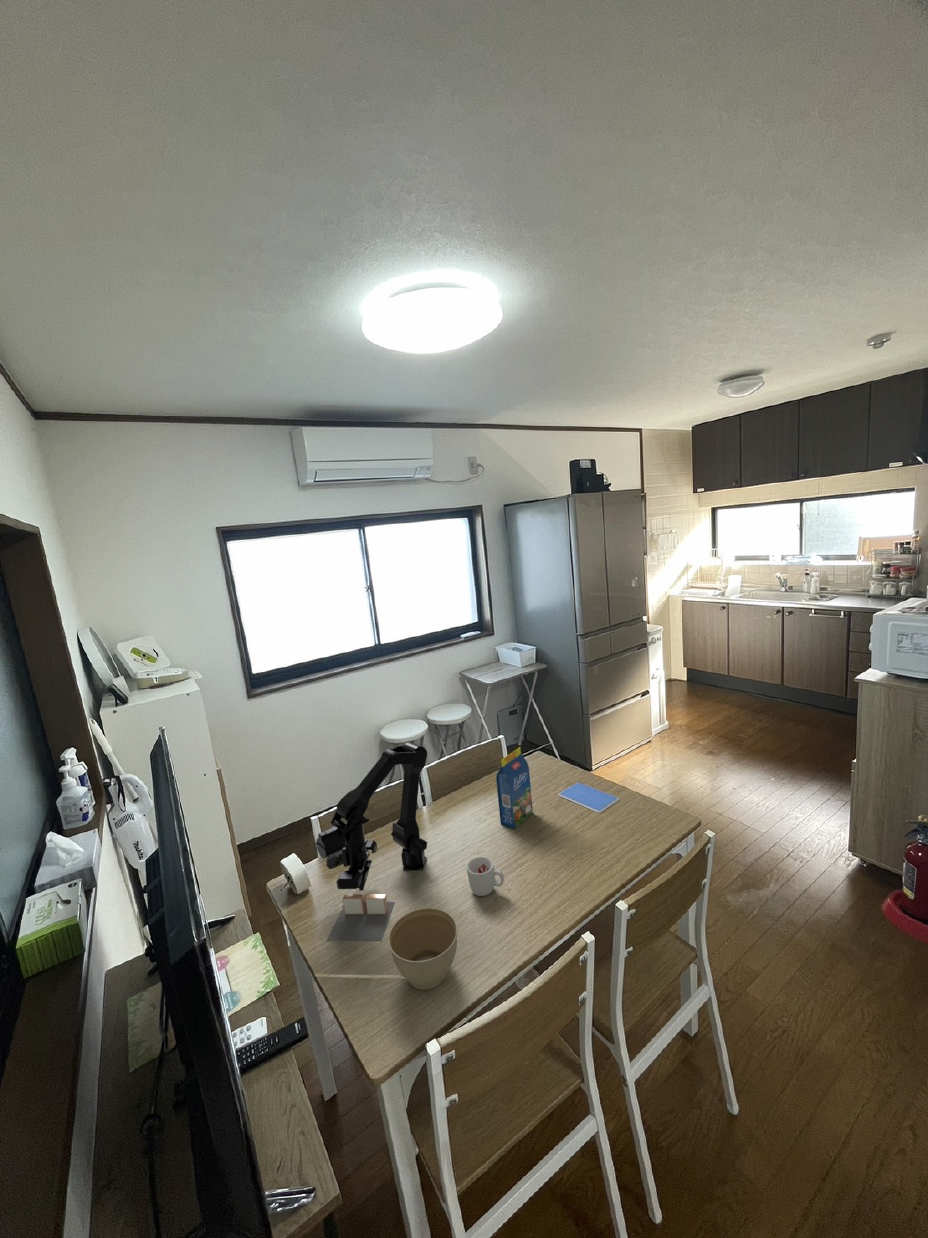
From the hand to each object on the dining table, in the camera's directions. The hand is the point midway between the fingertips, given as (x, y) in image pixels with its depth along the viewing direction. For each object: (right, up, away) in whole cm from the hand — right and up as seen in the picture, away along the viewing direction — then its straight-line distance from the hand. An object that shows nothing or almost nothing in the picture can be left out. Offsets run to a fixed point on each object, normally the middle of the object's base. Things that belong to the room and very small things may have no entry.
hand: (361, 889), depth 147 cm
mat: (+2, -4, -9) cm, 10 cm away
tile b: (-1, -3, -6) cm, 7 cm away
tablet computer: (+77, +11, +42) cm, 88 cm away
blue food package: (+49, +7, +33) cm, 60 cm away
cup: (+37, +1, -2) cm, 37 cm away
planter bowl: (+21, -5, -28) cm, 36 cm away
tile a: (+6, -3, -7) cm, 9 cm away
